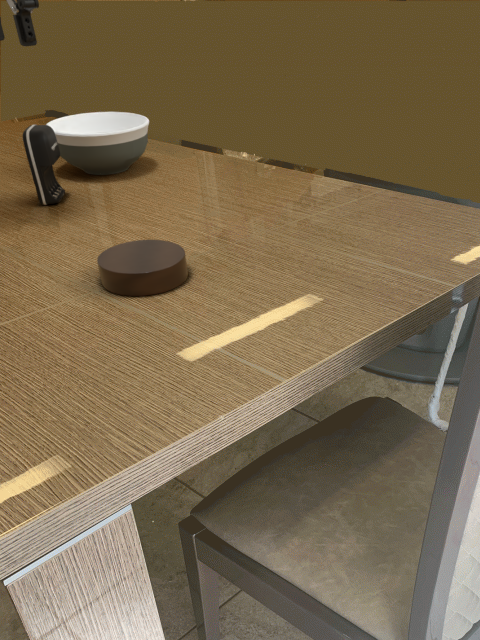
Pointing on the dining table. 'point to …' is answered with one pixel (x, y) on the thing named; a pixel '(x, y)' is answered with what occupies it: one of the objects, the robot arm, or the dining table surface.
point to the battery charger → (43, 162)
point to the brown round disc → (142, 267)
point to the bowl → (101, 140)
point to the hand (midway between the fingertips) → (12, 43)
